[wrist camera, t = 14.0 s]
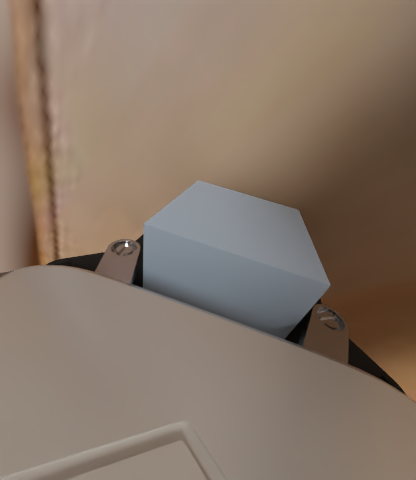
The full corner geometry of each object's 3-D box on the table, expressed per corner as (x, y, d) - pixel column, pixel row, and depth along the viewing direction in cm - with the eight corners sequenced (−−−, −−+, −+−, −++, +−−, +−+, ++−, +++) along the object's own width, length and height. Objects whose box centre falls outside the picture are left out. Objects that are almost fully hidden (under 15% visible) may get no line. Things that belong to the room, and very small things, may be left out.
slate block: (198, 180, 11) (143, 223, 6) (298, 209, 10) (330, 285, 5) (184, 256, 14) (142, 325, 9) (259, 282, 14) (257, 370, 9)
